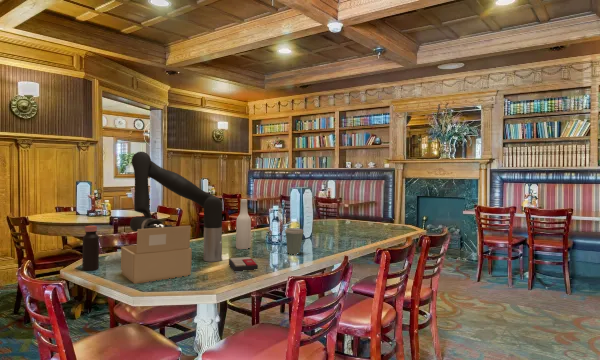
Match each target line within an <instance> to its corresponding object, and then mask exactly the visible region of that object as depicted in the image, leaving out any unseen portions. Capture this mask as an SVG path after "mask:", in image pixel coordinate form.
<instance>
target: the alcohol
mask: <svg viewBox="0 0 600 360" xmlns="http://www.w3.org/2000/svg"><path fill="white" fill-rule="evenodd" d="M239 209H240V210H239V214H238V216H237V217H236V225H235V226H236V231H235V232H236V233H235V248H236V249H237V250H241V249H246V250H249V249H248V248H250V249H251V246H252V245H251V244H252V241H251V240H252V235H251V234H252V233H251V232H252V219H251V216H250V215H249V213H248V212H249V211H248V199H246V198H242V199H240V208H239Z"/></svg>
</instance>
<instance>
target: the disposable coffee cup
mask: <svg viewBox="0 0 600 360" xmlns="http://www.w3.org/2000/svg"><path fill="white" fill-rule="evenodd" d="M284 231H285V232H284V233H285V241H286V251H287V254H288V253H289V254H297V253H299V254H300V253H301V247H302V240H303V235H304V230H303V228H296V227H286V228H285V230H284ZM289 254H288V255H289Z"/></svg>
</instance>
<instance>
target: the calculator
mask: <svg viewBox="0 0 600 360" xmlns="http://www.w3.org/2000/svg"><path fill="white" fill-rule="evenodd" d="M229 265H230V266H229ZM228 266H229V267H230V268H231V269H233V270H234V271H243V270H254V269H258V270H259V268H258V267H259V266H258V264H257V263H256V261H255V260H254V259H252V258H251V256H249V257H247V256H246V257H245V256H243V257H231V258H228ZM233 270H232V271H233ZM234 271H233V272H234Z"/></svg>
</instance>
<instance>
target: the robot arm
mask: <svg viewBox="0 0 600 360" xmlns="http://www.w3.org/2000/svg"><path fill="white" fill-rule="evenodd" d="M131 165H132V168H133V173H134V192H133V193H134V195H133V203H134V204H133V205H134V206H133V207H134V212H136V213H140V214H142V215H143V216H134V217H132V218H131V219H130V221H129V226H130V229H131V230H132V231H133V232H137V230H138V229H148V228H163V227H173V225H172V224H168V225H165V224H163V222H162V221H161V220H159V219H157V218H153V216H152V212H151V209H150V190H149V189H150V188H149V178H151V179H152V180H155V181H156V182H157V183H158V184H160V185H161V186H163V187H164V188H166V189H168V190H169V191H171V192H173V193H174V194H176V195H178V196H180V197H182V198H185V199H187V200H190V201H192V202H194V203H195V204H197V205H199V206H200V207H202V208H203V257H202V258H203V261H205V262H210V263H211V262H212V263H213V262H219V261H220V262H221V260H222V261H223V252H222V251H223V240H222V239H223V237H222V236H223V202H222V200H221V198H219V197H218V196H215V195H212V194H210V193H209V192H207V191H204V190H203V189H201V188H200V187H198V186H197V185H196V184H194V183H193V182H192V181H190V180H189V179H187V178H185V177H184V176H182V175H181V174H179V173H177V172H175V171H171V170H168V169H165V168H164V167H161V166H160V165H158V164H157V163H155V162H154V161H153V160H152V159H151V156H150V155H149V154H148V153H147V152H145V151H138V152H135V153H134V155H132V157H131Z"/></svg>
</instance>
